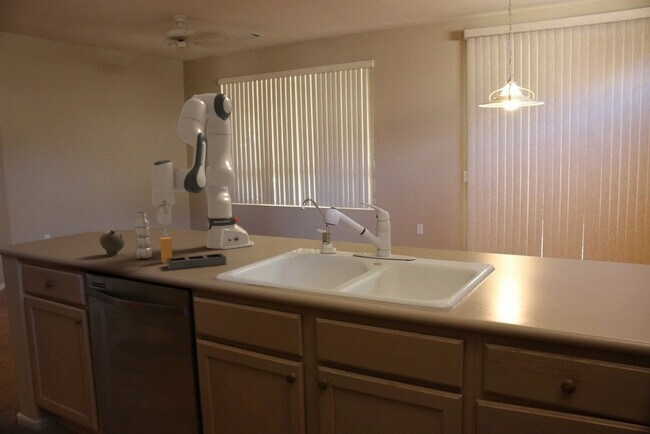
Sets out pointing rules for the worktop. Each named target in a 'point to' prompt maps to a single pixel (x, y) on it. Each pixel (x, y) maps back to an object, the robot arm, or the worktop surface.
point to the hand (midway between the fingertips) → (164, 234)
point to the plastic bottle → (143, 236)
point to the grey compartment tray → (195, 261)
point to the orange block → (165, 248)
